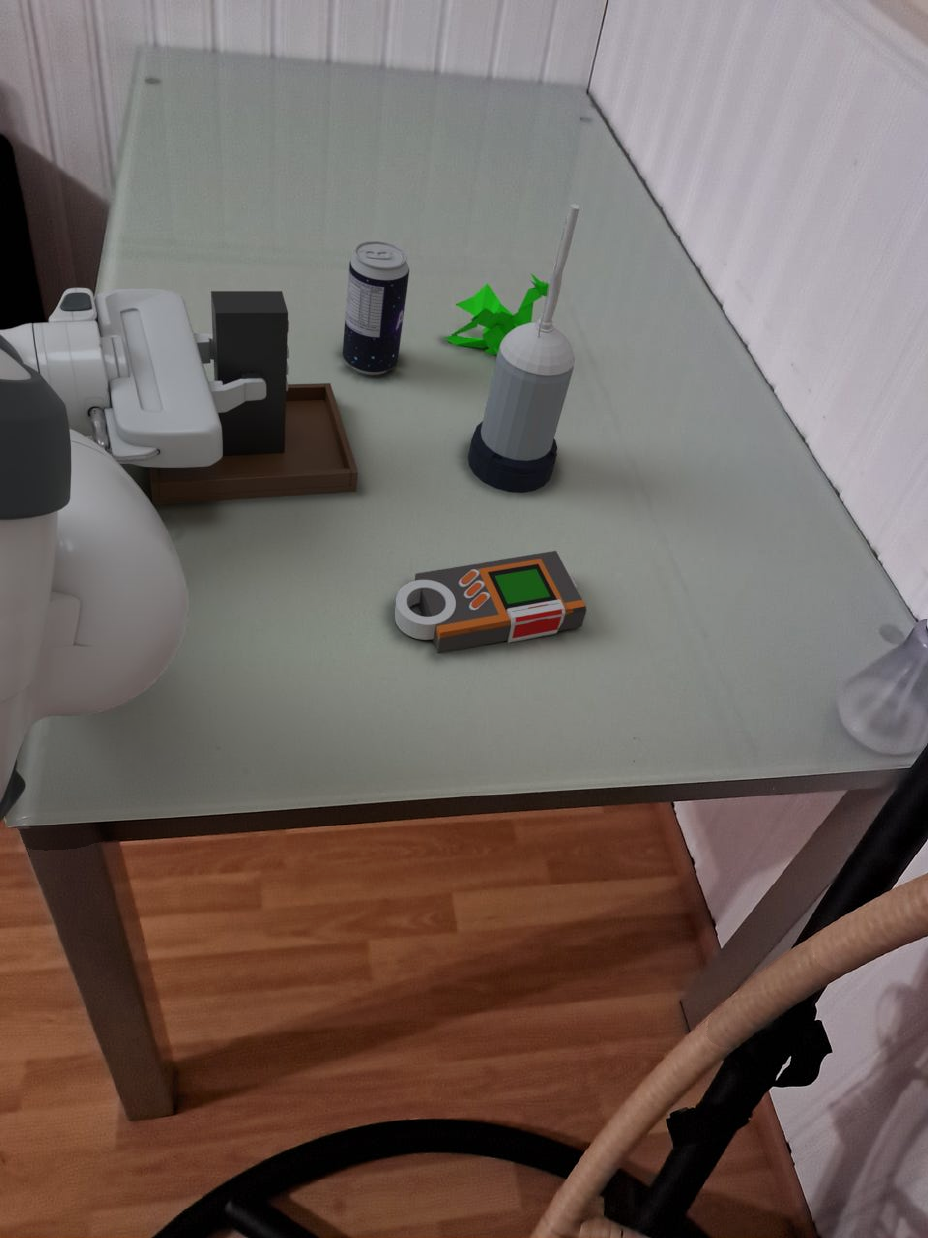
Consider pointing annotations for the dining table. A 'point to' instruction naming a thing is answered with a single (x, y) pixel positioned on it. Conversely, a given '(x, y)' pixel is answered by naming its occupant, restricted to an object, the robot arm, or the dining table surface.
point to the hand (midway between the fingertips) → (258, 368)
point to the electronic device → (491, 602)
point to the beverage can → (375, 307)
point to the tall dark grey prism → (252, 367)
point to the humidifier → (526, 396)
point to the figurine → (495, 316)
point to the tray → (274, 459)
